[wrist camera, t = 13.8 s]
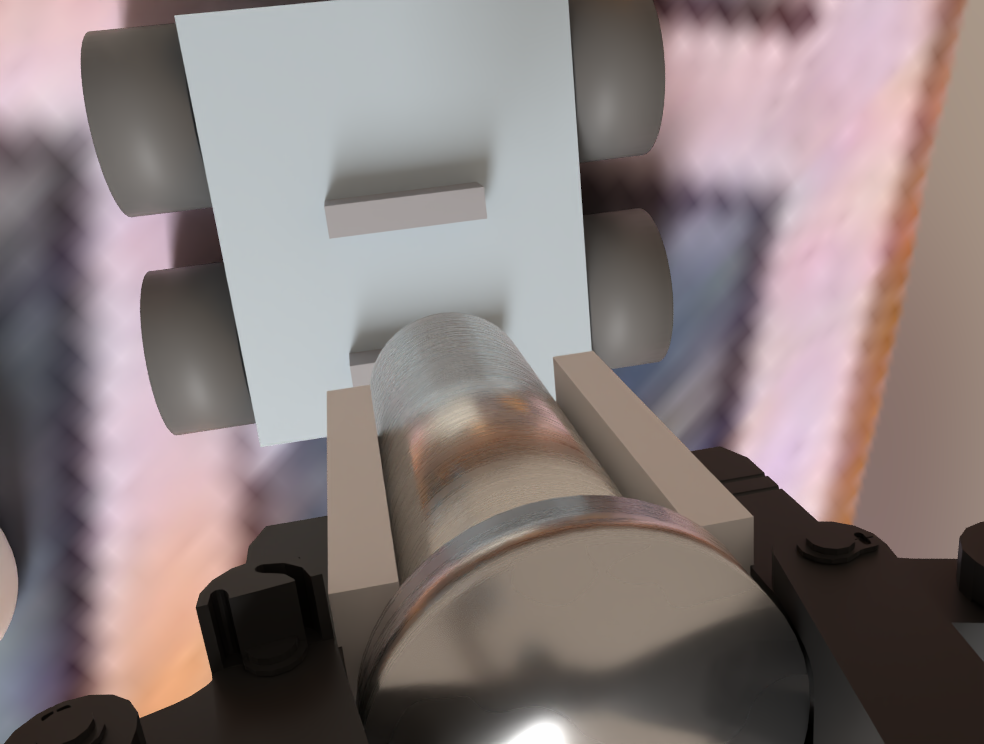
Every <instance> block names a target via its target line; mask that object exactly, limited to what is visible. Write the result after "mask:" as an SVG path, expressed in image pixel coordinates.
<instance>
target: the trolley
mask: <svg viewBox="0 0 984 744" xmlns="http://www.w3.org/2000/svg"><path fill="white" fill-rule="evenodd" d="M174 17H175V22H176V23H173V24H163V25H152V26H142V27H131V28H121V29H110V30H100V31H89V32H87V33H86V34H85V36H84V38H83V42H82V48H81V77H82V87H83V95H84V101H85V107H86V113H87V118H88V123H89V127H90V132H91V135H92V139H93V143H94V147H95V150H96V154H97V157H98V160H99V163H100V166H101V169H102V172H103V175H104V177H105V180H106V182H107V185H108V187H109V190H110V192H111V194H112V196H113V198H114V200H115V201H116V203H117V205H118V206H119V208H120V209H121V210H122V212H123V213H124V214H125V215H127V216H128V217H137V216H145V215H153V214H161V213H170V212H178V211H186V210H194V209H203V208H211V207H213V212H214V217H215V222H216V227H217V232H218V237H219V242H220V247H221V252H222V257H223V262H218V263H210V264H203V265H195V266H187V267H179V268H172V269H164V270H156V271H149V272H147V273H146V275H145V277H144V279H143V283H142V288H141V299H140V316H141V331H142V340H143V348H144V354H145V360H146V366H147V370H148V375H149V380H150V383H151V387H152V391H153V394H154V398H155V401H156V404H157V407H158V409H159V412H160V414H161V417H162V419H163V421H164V423H165V425H166V426H167V428H168V429H169V430H170V432H171V433H173V434H174V435H182V434H188V433H195V432H202V431H208V430H215V429H221V428H228V427H234V426H241V425H247V424H254V423H256V426H257V431H258V436H259V441H260V446H261V447H265V446H271V445H277V444H284V443H290V442H297V441H303V440H309V439H316V438H322V437H327V391H332V390H338V389H345V388H351V387H358V386H365V385H370V379H371V374H372V370H373V367H374V364H375V362H376V360H377V358H378V356H379V354H380V352H381V350H382V349H383V348H384V346H385V345H386V343H387V342H388V341H389V340H390V339H391V338H392V337H393V336H394V335H395V334H396V333H397V332H398V331H400V330H401V329H402V328H404V327H405V326H407V325H408V324H410V323H412V322H414V321H416V320H418V319H420V318H423V317H426V316H429V315H433V314H438V313H446V312H457V313H466V314H471V315H474V316H477V317H481V318H483V319H485V320H487V321H489V322H491V323H493V324H494V325H496V326H497V327H499V328H500V329H501V330H502V331H503V332H504V333H506V334H507V335H508V337H509V338H510V339H511V340H512V341H513V342H514V344H515V345H516V347H517V348H518V349H519V351H520V352H521V354H522V355H523V356H524V358H525V359H526V361H527V362H528V363H529V365H530V366H531V368H532V369H533V370H534V372H535V373H536V375H537V376H538V377H539V379H540V380H541V382H542V383H543V384H544V386H545V387H546V389H547V390H548V391H549V393H550V394H551V396H552V397H553V398H554V400H555V401H556V391H555V379H554V366H553V357H555V356H562V355H569V354H575V353H582V352H588V351H594V352H595V354H596V355H597V356H598V357H599V358H600V359H601V360H602V361H603V362H604V363H605V364H606V365H607V366H608V367H609V368H610V369H615V368H621V367H628V366H634V365H641V364H647V363H654V362H659V361H661V360H662V359H663V358H664V357H665V355H666V353H667V351H668V349H669V345H670V341H671V336H672V328H673V292H672V283H671V276H670V269H669V264H668V259H667V255H666V251H665V248H664V245H663V241H662V238H661V236H660V233H659V231H658V228H657V226H656V224H655V223H654V221H653V219H652V218H651V216H650V215H649V214H648V213H647V212H646V211H645V210H643V209H641V208H636V209H628V210H620V211H613V212H605V213H597V214H590V215H583V213H582V198H581V183H580V168H579V163H581V162H589V161H598V160H606V159H614V158H622V157H631V156H639V155H644V154H647V153H648V152H649V151H650V150H651V148H652V147H653V145H654V143H655V141H656V138H657V136H658V133H659V129H660V125H661V120H662V114H663V107H664V95H665V63H664V50H663V41H662V35H661V29H660V24H659V20H658V16H657V12H656V9H655V6H654V3H653V0H333V1H323V2H312V3H301V4H291V5H280V6H269V7H259V8H248V9H238V10H227V11H216V12H206V13H195V14H185V15H174Z"/></svg>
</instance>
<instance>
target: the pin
mask: <svg viewBox="0 0 984 744" xmlns="http://www.w3.org/2000/svg"><path fill="white" fill-rule="evenodd" d="M370 390H371V397H372V403H373V410H374V416H375V423H376V429H377V436H378V442H379V449H380V456H381V463H382V470H383V476H384V483H385V490H386V497H387V504H388V511H389V517H390V524H391V531H392V538H393V545H394V551H395V558H396V565H397V572H398V579H399V585H400V587H399V589H398V590H397V591H396V593H395V594H394V595H393V597H392V598H391V599H390V601H389V602H388V604H387V605H386V606H385V608H384V610H383V612H382V613H381V615H380V617H379V619H378V621H377V623H376V624H375V626H374V628H373V630H372V632H371V635H370V638H369V640H368V643H367V646H366V648H365V651H364V654H363V657H362V662H361V666H360V671H359V675H358V680H357V695H356V706H357V709H358V712H359V715H360V718H361V722H362V725H363V728H364V731H365V734H366V737H367V740H368V743H369V744H804V741H805V737H806V733H807V729H808V720H809V710H810V694H809V679H808V674H807V669H806V664H805V660H804V656H803V653H802V651H801V648H800V646H799V643H798V640H797V638H796V635H795V634H794V632H793V630H792V629H791V627H790V625H789V623H788V622H787V620H786V618H785V617H784V615H783V614H782V612H781V611H780V610H779V609H778V608H777V606H776V605H775V604H774V603H773V602H772V601H771V599H770V598H769V597H768V596H767V595H766V593H765V592H764V591H763V590H762V589H761V588H760V586H759V585H758V584H757V583H756V582H755V581H754V579H753V578H752V577H751V576H750V575H749V574H748V572H747V571H746V570H745V569H744V568H743V567H742V565H741V564H740V563H739V562H738V561H737V560H736V558H735V557H734V556H733V555H732V554H731V553H730V551H729V550H728V549H727V548H726V547H725V546H724V545H723V544H722V543H721V542H720V541H719V540H718V539H716V538H715V537H714V536H713V535H712V534H711V533H710V532H708V531H707V530H706V529H704V528H703V527H701V526H700V525H698V524H697V523H695V522H693V521H692V520H690V519H689V518H687V517H685V516H683V515H681V514H678V513H676V512H674V511H672V510H669V509H667V508H665V507H663V506H659V505H656V504H652V503H649V502H645V501H641V500H638V499H632V498H625V497H624V496H623V495H622V494H621V492H620V491H619V489H618V488H617V487H616V485H615V484H614V482H613V481H612V480H611V478H610V477H609V475H608V474H607V473H606V471H605V470H604V468H603V467H602V466H601V464H600V463H599V461H598V460H597V459H596V457H595V456H594V454H593V453H592V452H591V450H590V449H589V447H588V446H587V445H586V443H585V442H584V440H583V439H582V438H581V436H580V435H579V433H578V432H577V431H576V429H575V428H574V426H573V425H572V424H571V422H570V421H569V419H568V418H567V417H566V415H565V414H564V412H563V411H562V410H561V408H560V407H559V405H558V404H557V403H556V401H555V400H554V398H553V397H552V396H551V394H550V393H549V391H548V390H547V389H546V387H545V386H544V384H543V383H542V382H541V380H540V379H539V377H538V376H537V375H536V373H535V372H534V370H533V369H532V368H531V366H530V365H529V363H528V362H527V361H526V359H525V358H524V356H523V355H522V354H521V352H520V351H519V349H518V348H517V347H516V345H515V344H514V342H513V341H512V340H511V339H510V338H509V337H508V335H507V334H506V333H504V332H503V331H502V330H501V329H500V328H499V327H497V326H496V325H494V324H493V323H491V322H489V321H487V320H485V319H483V318H481V317H477V316H474V315H471V314H466V313H457V312H446V313H438V314H433V315H429V316H426V317H423V318H420V319H418V320H416V321H414V322H412V323H410V324H408V325H407V326H405V327H404V328H402V329H401V330H400V331H398V332H397V333H396V334H395V335H394V336H393V337H392V338H391V339H390V340H389V341H388V342H387V343H386V345H385V346H384V348H383V349H382V350H381V352H380V354H379V356H378V358H377V360H376V362H375V364H374V367H373V370H372V374H371V379H370Z"/></svg>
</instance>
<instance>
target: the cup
mask: <svg viewBox="0 0 984 744" xmlns="http://www.w3.org/2000/svg"><path fill="white" fill-rule="evenodd" d="M17 594H18V574H17V567H16V562H15V558H14V555H13V552H12V549H11V547H10V545H9V543H8V541H7V539H6V537H5V535H4V533H3V531H2V530H1V528H0V641H1V639H2V637H3V636H4V634H5V632H6V630H7V628H8V626H9V624H10V622H11V619H12V616H13V613H14V610H15V606H16V601H17Z"/></svg>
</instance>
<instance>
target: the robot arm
mask: <svg viewBox="0 0 984 744" xmlns="http://www.w3.org/2000/svg"><path fill="white" fill-rule="evenodd" d="M553 366H554V379H555V391H556V403H557V404H558V405H559V407H560V408H561V410H562V411H563V412H564V414H565V415H566V417H567V418H568V419H569V421H570V422H571V424H572V425H573V426H574V428H575V429H576V431H577V432H578V433H579V435H580V436H581V438H582V439H583V440H584V442H585V443H586V445H587V446H588V447H589V449H590V450H591V452H592V453H593V454H594V456H595V457H596V459H597V460H598V461H599V463H600V464H601V466H602V467H603V468H604V470H605V471H606V473H607V474H608V475H609V477H610V478H611V480H612V481H613V482H614V484H615V485H616V487H617V488H618V489H619V491H620V492H621V494H622V495H623V496H624V497H625V498H632V499H638V500H641V501H645V502H649V503H652V504H656V505H659V506H663V507H665V508H667V509H669V510H672V511H674V512H676V513H678V514H681V515H683V516H685V517H687V518H689V519H690V520H692V521H693V522H695V523H697V524H698V525H700V526H701V527H703V528H704V529H706V530H707V531H708V532H710V533H711V534H712V535H713V536H714V537H715V538H716V539H718V540H719V541H720V542H721V543H722V544H723V545H724V546H725V547H726V548H727V549H728V550H729V551H730V553H731V554H732V555H733V556H734V557H735V558H736V560H737V561H738V562H739V563H740V564H741V565H742V567H743V568H744V569H745V570H746V571H747V572H748V574H749V575H750V576H751V577H752V578H753V579H754V581H755V582H756V583H757V584H758V585H759V586H760V588H761V589H762V590H763V591H764V592H765V593H766V595H767V596H768V597H769V598H770V599H771V601H772V602H773V603H774V604H775V605H776V606H777V608H778V609H779V610H780V611H781V612H782V614H783V615H784V617H785V618H786V620H787V622H788V623H789V625H790V627H791V629H792V630H793V632H794V634H795V635H796V638H797V640H798V643H799V646H800V648H801V651H802V653H803V656H804V660H805V664H806V669H807V674H808V679H809V694H810V710H809V720H808V729H807V733H806V737H805V741H804V744H984V522H980V523H977V524H975V525H973V526H970V527H968V528H966V529H965V531H964V532H963V534H962V535H961V536H960V539H959V551H958V559H909V558H897V556H896V555H895V554H894V553H893V552H892V551H891V549H890V548H889V547H888V545H887V544H886V543H884V542H883V541H882V540H881V539H879V538H878V537H877V536H876V535H874V534H873V533H871V532H868V531H866V530H863V529H861V528H858V527H856V526H853V525H847V524H842V523H837V522H818V521H817V520H816V519H815V518H814V517H812V516H811V515H810V514H809V513H808V512H807V511H806V510H805V509H804V508H803V507H801V506H800V505H799V504H798V503H797V502H796V501H795V500H794V499H793V498H791V497H790V496H789V495H788V494H787V493H786V492H785V491H784V490H783V489H779V487H778V485H777V484H776V483H775V482H774V481H773V480H772V479H771V478H769V477H768V476H765V474H764V472H763V471H762V470H761V469H760V468H758V467H757V466H756V465H755V464H754V463H753V462H752V461H751V460H750V459H748V458H747V457H745V456H742V455H740V454H737V453H735V452H733V451H730V450H728V449H725V448H723V447H714V448H708V449H702V450H696V451H689V449H688V448H687V447H686V446H685V445H684V444H683V443H682V442H681V441H680V440H679V439H678V438H677V437H676V436H675V435H674V434H673V433H672V432H671V431H670V430H669V429H668V428H667V427H666V426H665V425H664V424H663V423H662V422H661V421H660V420H659V419H658V417H657V416H656V415H655V414H654V413H653V412H652V411H651V410H650V409H649V408H648V407H647V406H646V405H645V404H644V403H643V402H642V401H641V400H640V399H639V398H638V397H637V396H636V395H635V394H634V393H633V392H632V391H631V390H630V389H629V388H628V387H627V386H626V384H625V383H624V382H623V381H622V380H621V379H620V378H619V377H618V376H617V375H616V374H615V373H614V372H613V371H612V370H611V369H610V368H609V367H608V366H607V365H606V364H605V363H604V362H603V361H602V360H601V359H600V358H599V357H598V356H597V355H596V354H595V352H594V351H588V352H582V353H575V354H569V355H562V356H555V357H553ZM327 507H328V516H324V517H318V518H312V519H306V520H300V521H294V522H288V523H283V524H277V525H271V526H266V527H265V528H264V529H263V531H262V532H261V533H260V534H259V535H258V536H257V538H256V539H255V540H254V541H253V542H252V543H251V544H250V546H249V548H248V555H247V561H246V564H243V565H241V566H238V567H235V568H232V569H230V570H229V571H227V572H225V573H224V574H222V575H220V576H219V577H217V578H215V579H214V580H212V581H211V582H210V583H209V584H208V585H207V587H206V588H205V589H204V590H203V591H202V592H201V593H200V594H199V598H198V601H197V605H196V610H197V615H198V619H199V623H200V627H201V631H202V635H203V639H204V643H205V647H206V651H207V655H208V660H209V664H210V668H211V672H212V681H211V682H210V683H209V684H208V685H207V686H205V687H204V688H202V689H201V690H199V691H198V692H196V693H195V694H193V695H192V696H190V697H188V698H186V699H184V700H182V701H180V702H178V703H176V704H174V705H171V706H169V707H166V708H164V709H162V710H159V711H157V712H154V713H152V714H149V715H147V716H144V717H142V718H139V715H138V712H137V711H136V709H135V708H134V706H133V705H132V704H131V702H130V701H129V700H126V699H123V698H121V697H118V696H115V695H88V696H84V697H80V698H76V699H72V700H68V701H65V702H62V703H60V704H57V705H55V706H53V707H50V708H48V709H46V710H45V711H43V712H41V713H39V714H37V715H36V716H34V717H33V718H31V719H30V720H29V721H27V722H26V723H25V724H23V725H22V726H21V727H19V728H18V729H17V730H15V731H14V732H13V733H12V735H11V736H10V737H9V738H8V740H7V741H6V742H5V743H4V744H369V743H368V740H367V737H366V734H365V731H364V728H363V725H362V722H361V718H360V715H359V712H358V709H357V706H356V695H357V680H358V675H359V671H360V666H361V662H362V657H363V654H364V651H365V648H366V646H367V643H368V640H369V638H370V635H371V632H372V630H373V628H374V626H375V624H376V623H377V621H378V619H379V617H380V615H381V613H382V612H383V610H384V608H385V606H386V605H387V604H388V602H389V601H390V599H391V598H392V597H393V595H394V594H395V593H396V591H397V590H398V589H399V587H400V585H399V579H398V572H397V565H396V558H395V551H394V545H393V538H392V531H391V524H390V517H389V511H388V504H387V497H386V490H385V483H384V476H383V470H382V463H381V456H380V449H379V442H378V436H377V429H376V423H375V416H374V410H373V403H372V397H371V390H370V385H365V386H358V387H351V388H345V389H338V390H332V391H327Z"/></svg>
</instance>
